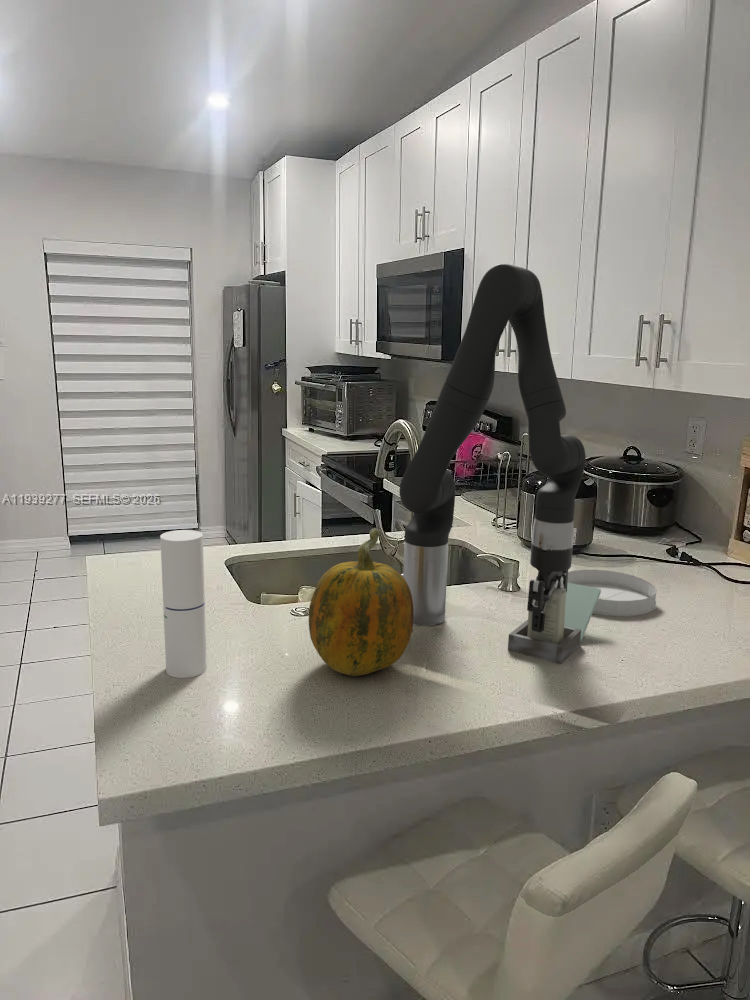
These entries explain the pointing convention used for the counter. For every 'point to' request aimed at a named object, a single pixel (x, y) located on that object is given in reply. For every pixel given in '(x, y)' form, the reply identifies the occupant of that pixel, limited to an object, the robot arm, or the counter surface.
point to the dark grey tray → (544, 644)
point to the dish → (617, 592)
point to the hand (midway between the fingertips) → (545, 623)
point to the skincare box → (551, 619)
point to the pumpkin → (361, 614)
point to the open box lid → (580, 606)
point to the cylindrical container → (184, 603)
